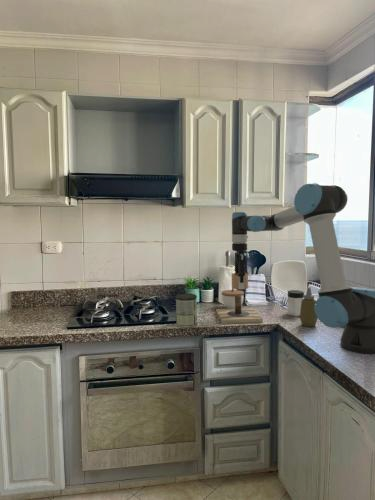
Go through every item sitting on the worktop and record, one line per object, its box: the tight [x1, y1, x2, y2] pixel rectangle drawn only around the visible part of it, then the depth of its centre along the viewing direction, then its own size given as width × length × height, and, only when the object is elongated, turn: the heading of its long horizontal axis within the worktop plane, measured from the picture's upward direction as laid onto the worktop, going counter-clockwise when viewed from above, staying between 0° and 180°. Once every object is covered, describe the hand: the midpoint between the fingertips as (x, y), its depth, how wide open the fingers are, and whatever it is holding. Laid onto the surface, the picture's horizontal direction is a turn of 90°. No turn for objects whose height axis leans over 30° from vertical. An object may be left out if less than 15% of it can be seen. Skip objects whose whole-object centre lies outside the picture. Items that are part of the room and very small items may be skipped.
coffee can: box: [174, 293, 198, 328], centre depth 174 cm, size 10×10×14 cm
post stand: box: [215, 296, 264, 325], centre depth 184 cm, size 20×20×11 cm
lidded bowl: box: [221, 287, 245, 309], centre depth 205 cm, size 13×13×11 cm
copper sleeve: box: [231, 272, 249, 290], centre depth 183 cm, size 8×8×7 cm
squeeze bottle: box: [299, 286, 319, 328], centre depth 169 cm, size 8×8×18 cm
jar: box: [287, 289, 305, 317], centre depth 189 cm, size 9×8×12 cm
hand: (239, 287), depth 184 cm, fingers closed on copper sleeve, 8 cm apart
